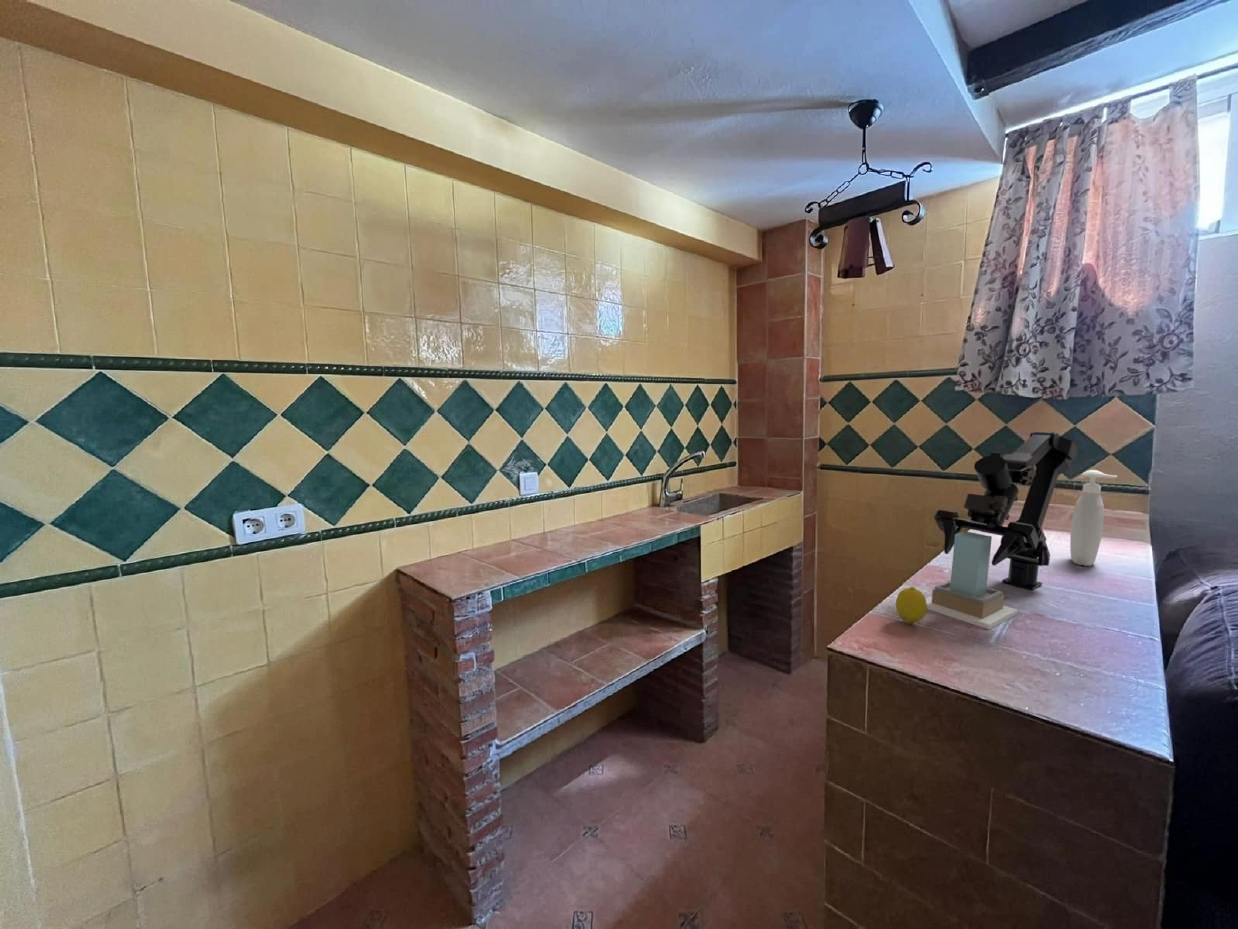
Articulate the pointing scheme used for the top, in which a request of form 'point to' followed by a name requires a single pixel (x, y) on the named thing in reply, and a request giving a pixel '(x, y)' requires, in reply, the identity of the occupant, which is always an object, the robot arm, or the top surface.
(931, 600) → the build base
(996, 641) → the top surface
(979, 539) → the pillar
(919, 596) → the lemon
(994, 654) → the top surface
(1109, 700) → the top surface
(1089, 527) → the soap bottle
